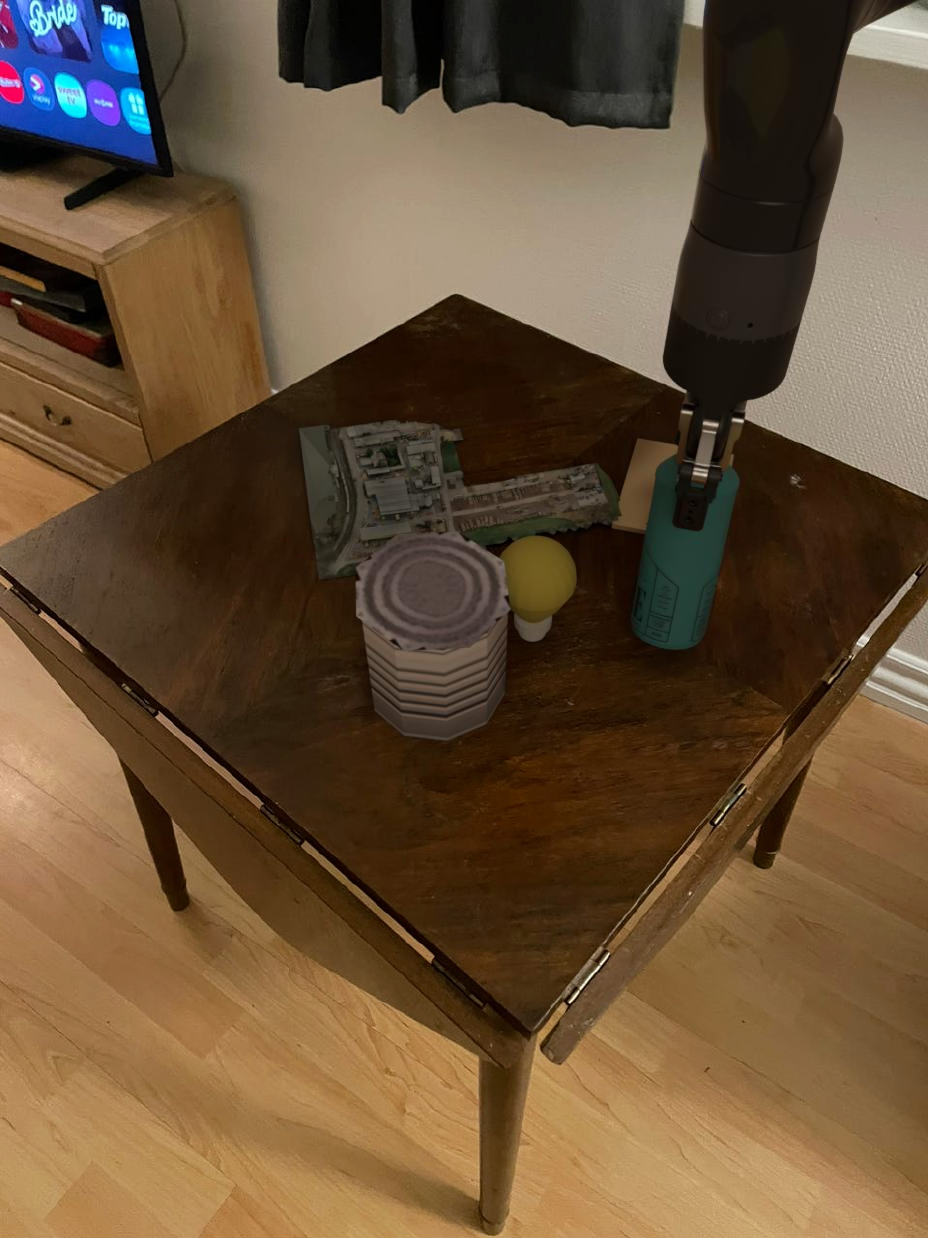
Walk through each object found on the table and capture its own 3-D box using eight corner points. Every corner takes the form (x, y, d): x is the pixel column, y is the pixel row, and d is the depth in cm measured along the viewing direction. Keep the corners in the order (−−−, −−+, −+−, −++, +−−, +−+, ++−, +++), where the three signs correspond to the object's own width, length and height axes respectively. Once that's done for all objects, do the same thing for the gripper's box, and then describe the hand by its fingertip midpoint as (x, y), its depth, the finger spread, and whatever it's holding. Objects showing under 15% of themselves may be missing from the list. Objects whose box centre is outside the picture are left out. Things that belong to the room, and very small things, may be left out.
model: (635, 529, 88) (636, 516, 87) (319, 580, 85) (316, 567, 84) (574, 401, 102) (574, 389, 101) (301, 441, 99) (299, 428, 98)
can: (493, 626, 81) (494, 522, 72) (519, 731, 73) (524, 630, 64) (362, 643, 80) (347, 539, 71) (374, 751, 72) (360, 651, 63)
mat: (733, 459, 96) (734, 454, 96) (716, 548, 87) (717, 543, 87) (636, 442, 98) (637, 437, 98) (611, 528, 89) (611, 523, 89)
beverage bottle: (718, 657, 77) (776, 429, 66) (649, 673, 75) (698, 439, 64) (674, 616, 82) (721, 397, 71) (609, 629, 80) (647, 405, 69)
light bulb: (515, 671, 77) (519, 587, 70) (480, 618, 82) (480, 533, 74) (585, 644, 79) (596, 560, 72) (547, 594, 83) (554, 509, 76)
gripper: (797, 371, 49) (731, 597, 62) (809, 256, 58) (749, 476, 71) (656, 350, 51) (619, 575, 64) (688, 241, 59) (650, 459, 72)
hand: (688, 522), depth 67 cm, fingers closed
